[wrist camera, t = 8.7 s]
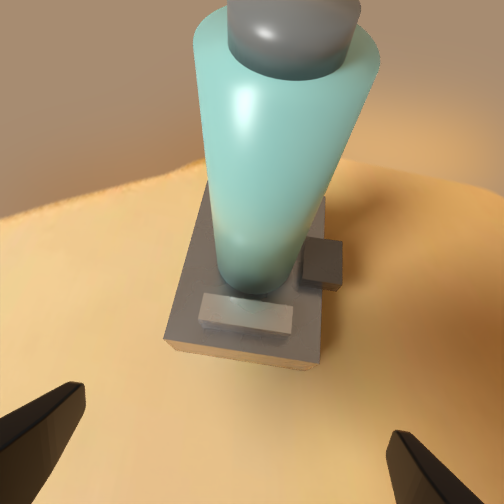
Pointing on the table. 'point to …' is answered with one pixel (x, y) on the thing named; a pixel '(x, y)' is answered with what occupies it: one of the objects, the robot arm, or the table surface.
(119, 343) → the table surface
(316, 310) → the block
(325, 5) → the bottle
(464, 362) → the table surface
